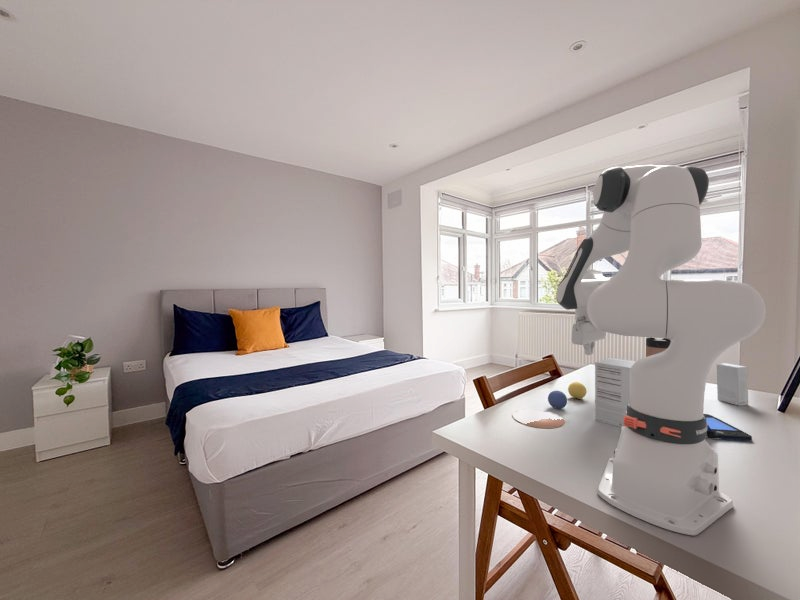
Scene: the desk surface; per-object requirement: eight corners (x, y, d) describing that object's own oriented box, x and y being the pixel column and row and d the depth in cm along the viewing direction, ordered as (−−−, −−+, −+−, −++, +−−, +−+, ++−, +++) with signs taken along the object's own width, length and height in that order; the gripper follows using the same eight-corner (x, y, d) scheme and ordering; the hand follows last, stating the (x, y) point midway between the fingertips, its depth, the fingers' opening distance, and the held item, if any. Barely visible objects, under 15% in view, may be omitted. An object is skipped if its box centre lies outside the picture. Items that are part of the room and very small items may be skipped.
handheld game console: (755, 443, 79) (756, 405, 79) (691, 439, 82) (691, 402, 82) (708, 418, 95) (709, 386, 94) (655, 415, 97) (656, 384, 97)
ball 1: (562, 412, 100) (562, 394, 100) (544, 408, 104) (544, 390, 104) (570, 408, 103) (570, 391, 103) (553, 403, 108) (553, 387, 107)
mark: (549, 433, 86) (549, 432, 86) (502, 417, 97) (502, 416, 97) (573, 419, 95) (573, 418, 95) (528, 406, 106) (528, 405, 106)
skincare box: (749, 405, 104) (749, 366, 103) (738, 406, 103) (738, 367, 102) (725, 398, 110) (726, 362, 109) (715, 399, 109) (716, 363, 108)
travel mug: (661, 403, 106) (661, 341, 106) (639, 395, 114) (639, 338, 113) (680, 401, 108) (680, 340, 107) (657, 393, 115) (658, 337, 115)
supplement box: (608, 412, 100) (608, 356, 99) (645, 422, 92) (645, 362, 92) (594, 420, 94) (594, 361, 93) (631, 431, 87) (631, 367, 86)
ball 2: (582, 402, 109) (582, 385, 108) (565, 398, 113) (565, 382, 113) (589, 398, 112) (589, 382, 112) (572, 394, 116) (572, 379, 116)
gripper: (586, 318, 109) (586, 360, 109) (609, 314, 121) (609, 351, 122) (566, 317, 113) (566, 357, 114) (591, 313, 126) (591, 349, 127)
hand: (589, 354), depth 118 cm, fingers closed
